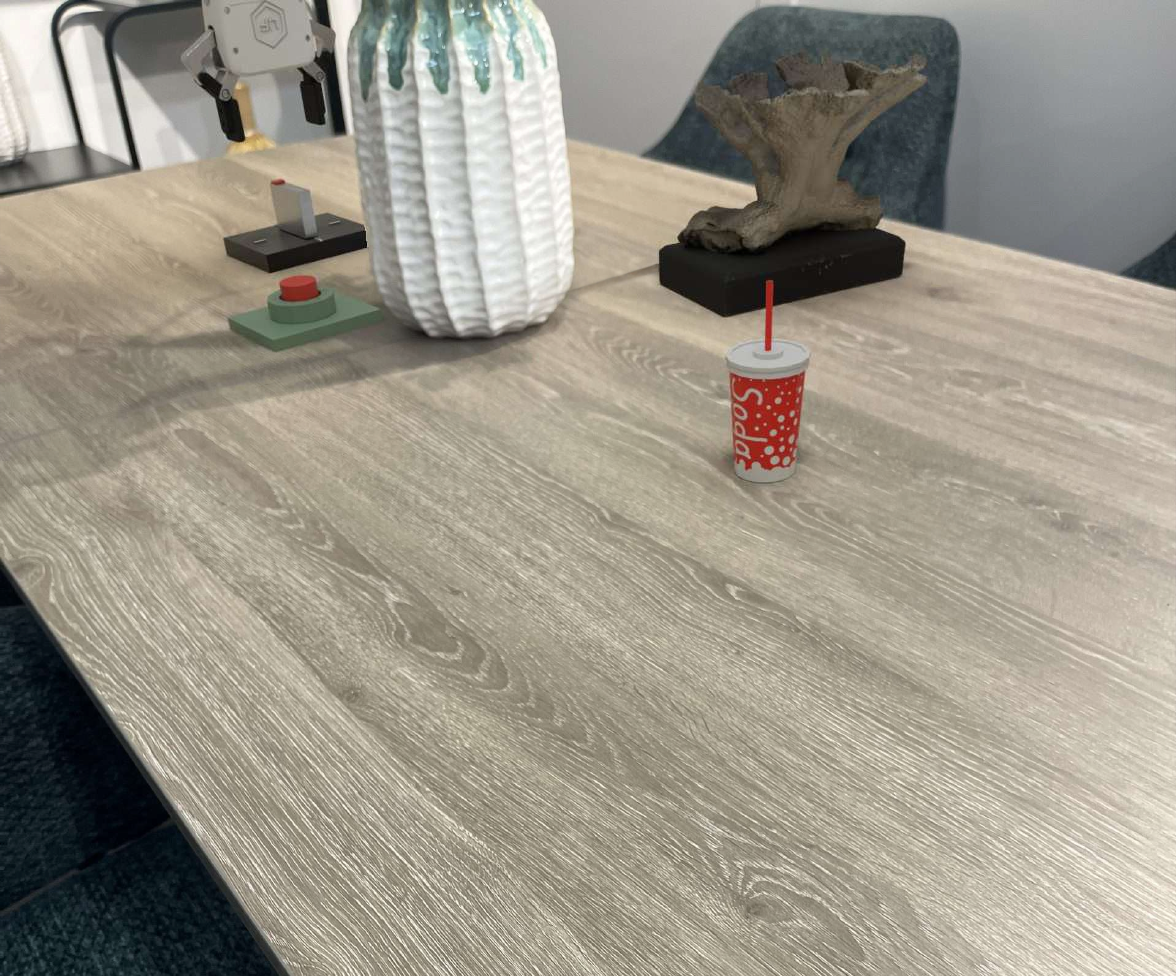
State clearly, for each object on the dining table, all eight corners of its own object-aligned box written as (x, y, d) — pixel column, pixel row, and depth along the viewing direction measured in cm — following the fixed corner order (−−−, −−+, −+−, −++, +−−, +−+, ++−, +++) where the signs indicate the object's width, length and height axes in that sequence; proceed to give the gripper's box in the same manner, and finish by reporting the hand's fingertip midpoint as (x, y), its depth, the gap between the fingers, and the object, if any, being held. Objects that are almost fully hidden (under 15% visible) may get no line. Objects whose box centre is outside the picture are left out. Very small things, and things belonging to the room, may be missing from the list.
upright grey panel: (318, 236, 147) (309, 187, 144) (305, 239, 147) (296, 190, 143) (290, 225, 152) (281, 178, 149) (278, 228, 151) (268, 180, 148)
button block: (278, 362, 123) (269, 320, 121) (232, 339, 130) (222, 299, 127) (384, 331, 129) (377, 290, 126) (335, 309, 135) (328, 270, 133)
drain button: (293, 307, 125) (289, 288, 124) (276, 299, 127) (272, 281, 126) (325, 298, 127) (322, 279, 125) (308, 290, 129) (304, 272, 128)
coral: (854, 241, 143) (869, 21, 130) (968, 287, 128) (997, 43, 115) (655, 281, 136) (649, 52, 123) (751, 335, 121) (756, 81, 108)
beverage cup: (711, 463, 99) (710, 277, 90) (781, 447, 100) (788, 263, 92) (746, 493, 94) (750, 300, 86) (820, 476, 96) (830, 285, 87)
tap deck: (272, 282, 144) (266, 253, 142) (228, 264, 151) (222, 236, 150) (378, 254, 151) (373, 226, 149) (331, 237, 158) (326, 210, 156)
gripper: (176, -48, 119) (219, 152, 130) (335, -68, 128) (364, 121, 138) (142, -50, 124) (187, 143, 135) (298, -70, 132) (329, 113, 143)
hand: (276, 131), depth 136 cm, fingers open, 9 cm apart
